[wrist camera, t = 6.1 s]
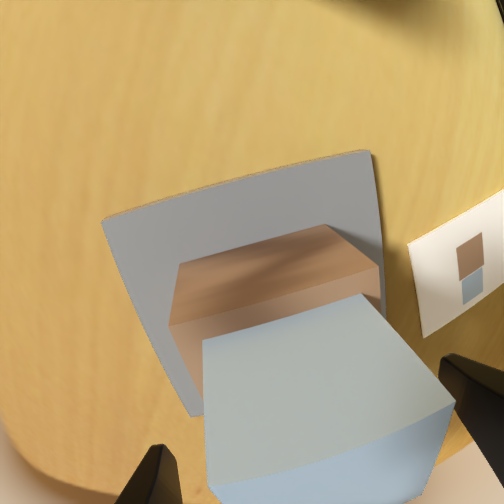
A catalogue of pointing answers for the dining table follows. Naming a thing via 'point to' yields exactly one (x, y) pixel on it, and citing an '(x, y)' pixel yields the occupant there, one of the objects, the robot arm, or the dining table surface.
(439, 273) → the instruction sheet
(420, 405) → the blue brick
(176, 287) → the walnut brick
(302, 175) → the slate tile
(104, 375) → the dining table surface
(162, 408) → the dining table surface
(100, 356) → the dining table surface
